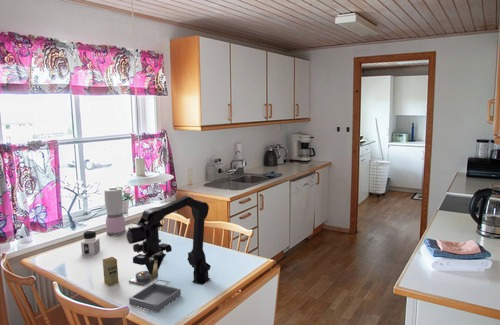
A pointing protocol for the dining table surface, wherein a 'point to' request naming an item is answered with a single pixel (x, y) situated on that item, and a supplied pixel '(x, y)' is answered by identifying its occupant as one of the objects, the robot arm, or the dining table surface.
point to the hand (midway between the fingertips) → (153, 272)
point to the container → (90, 243)
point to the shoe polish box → (110, 271)
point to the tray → (155, 297)
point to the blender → (114, 211)
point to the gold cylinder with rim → (154, 269)
